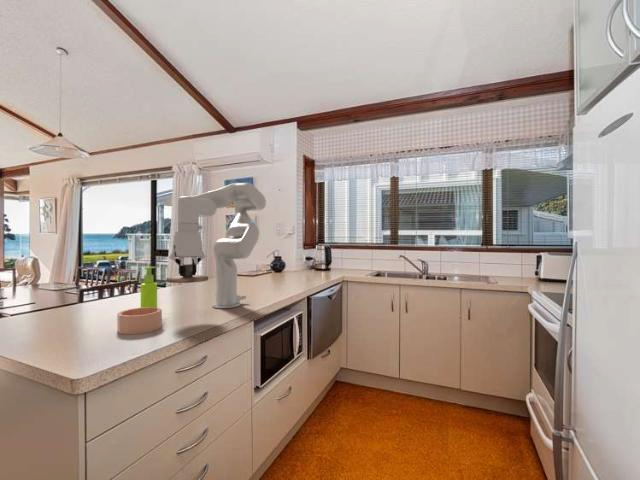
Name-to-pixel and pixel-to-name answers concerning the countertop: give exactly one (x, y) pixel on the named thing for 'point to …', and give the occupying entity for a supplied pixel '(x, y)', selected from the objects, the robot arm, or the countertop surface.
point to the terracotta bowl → (139, 320)
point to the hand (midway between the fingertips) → (187, 274)
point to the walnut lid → (187, 276)
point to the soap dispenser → (149, 290)
